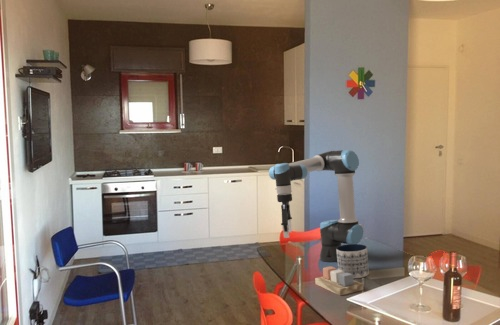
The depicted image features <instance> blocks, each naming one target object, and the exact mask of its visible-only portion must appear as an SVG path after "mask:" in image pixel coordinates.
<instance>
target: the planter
mask: <svg viewBox="0 0 500 325" xmlns="http://www.w3.org/2000/svg"><path fill="white" fill-rule="evenodd" d="M336 252H337V261H336V262H337V269H339V270H342V271H344V272H345V273H346V272H347V273H350V274H352V275H353V280H354V279H361V278H365V277H367V276H369V274H370V269H369V268H370V266H369V256H368V254H369V253H368V246H367V245H364V244H359V243H358V244H341V246H339V247H337V248H336Z"/></svg>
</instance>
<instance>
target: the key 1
mask: <svg viewBox="0 0 500 325" xmlns="http://www.w3.org/2000/svg"><path fill="white" fill-rule="evenodd" d="M337 269H338V268H336V267H334V266H331V265H330V266H325V267H323V268H322V277H323V278H325V279H328V280H331V275H330V272H331V271H333V270H337Z"/></svg>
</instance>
